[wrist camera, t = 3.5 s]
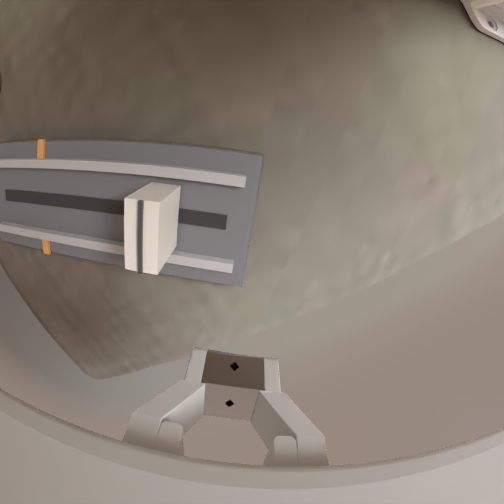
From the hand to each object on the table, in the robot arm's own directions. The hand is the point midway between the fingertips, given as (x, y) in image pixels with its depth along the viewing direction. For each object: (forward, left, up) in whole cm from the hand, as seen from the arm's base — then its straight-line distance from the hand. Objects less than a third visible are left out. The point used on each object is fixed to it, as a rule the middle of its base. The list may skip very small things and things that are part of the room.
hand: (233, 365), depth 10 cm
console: (+14, 0, -16) cm, 22 cm away
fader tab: (+7, 0, -14) cm, 16 cm away
